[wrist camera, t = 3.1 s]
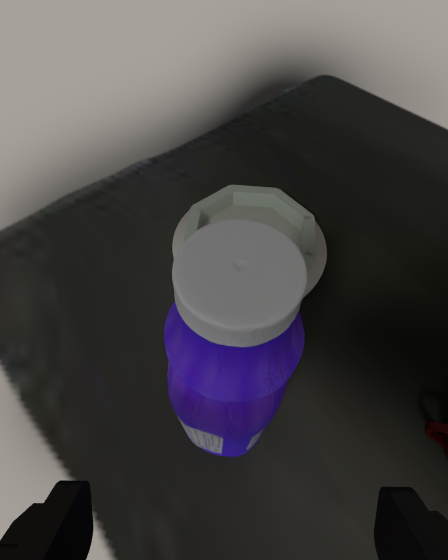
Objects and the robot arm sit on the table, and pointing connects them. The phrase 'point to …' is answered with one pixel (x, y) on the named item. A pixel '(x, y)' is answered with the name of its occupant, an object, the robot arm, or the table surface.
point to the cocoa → (431, 429)
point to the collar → (263, 208)
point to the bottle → (233, 331)
